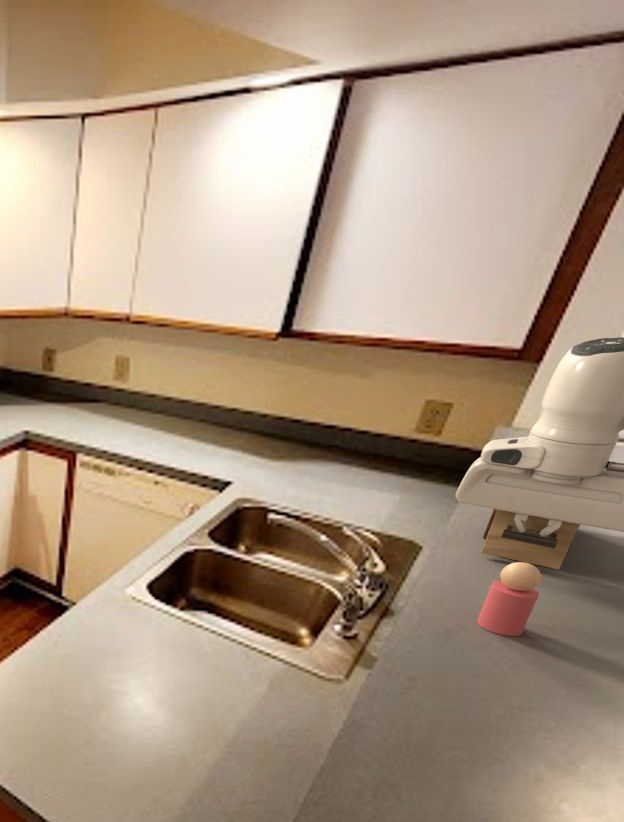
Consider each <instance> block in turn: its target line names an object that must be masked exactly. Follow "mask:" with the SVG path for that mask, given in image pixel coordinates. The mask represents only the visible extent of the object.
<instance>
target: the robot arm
mask: <svg viewBox="0 0 624 822" xmlns="http://www.w3.org/2000/svg"><path fill="white" fill-rule="evenodd" d="M540 408H541V409H540V410H541V411H540V415H539V418H538V419H537V421H536V422H535V423H534V424H533V426H532V427H531V428H530V431H529V434H528V436H520V437H510V438H509V437H508V438H499V439H493V440H492V439H491V440H490V441H489V442H487V443H486V444H485V445H484V447H483V448H482V450H481V453H480V456H479V457H478V458H477V459H476V460H474V462H473V463H472V464H471V465H470V466H469V468H468V469H467V471H466V472H465V475H464V476H463V478H462V480H461V482H460V484H459V486H458V488H457V490H456V492H455V495H454V496H455V498H456V500H457V501H458V503H460V504H464V505H465V504H466V505H469V506H475V507H481V508H487V509H491V510H494V509H497V510H503V511H509V512H514V513H516V515H515V518H514V520H515V523H516V525H517V528H518V530H519V532H523V533H528V534H533V535H538V536H543V537H545V536H547V535H549V534H551V533H552V532H554V531H555V530H557V529H559V528H560V526H561V524H562V522H563V521H565V522H570V523H576V524H580V525H583V526H587V527H594V528H600V529H604V530H605V529H606V530H611V531H617V532H622V533H624V463H623V462H616V461H610V459H611V457H612V454H613V453H614V450H615V448H616V445H617V443H618V441H619V437H620V432H622V431H624V337H622V336H621V337H619V336H618V337H603V338H596V339H595V338H594V339H591V340H586V341H584V342H581V343H578V344H575V345H573V346H572V347H570V348H569V350H568V351H567V352H566V353H565V354H564V356H563V357H562V358H561V360H560V361H559V363H558V364H557V366H556V368H555V370H554V372H553V374H552V375H551V378H550V380H549V382H548V384H547V387H546V389H545V392H544V394H543V396H542V400H541V403H540ZM529 515H531V516H537V517H542V518H548V519H549V521H548V526H547V527H545V528H544V529H542V530H541V531H538V530H533V529H528V528H526V525H525V522H524V521H526V520H527V518H528V516H529Z"/></svg>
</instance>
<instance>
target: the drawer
mask: <svg viewBox="0 0 624 822" xmlns="http://www.w3.org/2000/svg"><path fill="white" fill-rule="evenodd" d="M515 515H516V513H514V512H509V511H503V510H497V513H496V515H495V518H494V520H493V523H492V525H491V528H490V531H489V533H488V536H487V538H485V541H484V543H483V546H482V548H481V552H480V553H481V554H486V555H490V556H496V557H500V558H504V559H508V560H514V561H518V562H524V563H529V564H531V565H536V566H541V567H545V568H550V569H555V570H560V569H561V566H562V564H563V562H564V560H565V558H566V556H567V555H566V553H567V554H568V552H569V550H570V548H571V546H570V545H572V544H571V542H572V543H573V541H574V539H575V537H576V535H577V533H576V531H577V532H578V530H579V528H580V526H581V524H576V523H570V522H565V521H563V522H562V524H561V526H560V528H559V529H557V530H555V531H554V532H552V533H551V534H549V535H547V536H545V537H543V536H538V535H533V534H528V533H523V532H519V530H518V528H517V525H516V523H515V520H514V518H515ZM548 521H549V519H548V518H542V517H537V516H531V515H529V516H528V518H527V520H526V521H524V522H525V525H526V528H528V529H533V530H538V531H541V530H542V529H544V528H545V527H547V526H548ZM579 525H580V526H579ZM578 527H579V528H578ZM577 529H578V530H577ZM575 534H576V535H575ZM574 536H575V537H574ZM573 538H574V539H573ZM572 540H573V541H572ZM569 547H570V548H569ZM568 549H569V550H568ZM567 551H568V552H567Z"/></svg>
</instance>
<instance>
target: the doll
mask: <svg viewBox="0 0 624 822" xmlns="http://www.w3.org/2000/svg"><path fill="white" fill-rule="evenodd" d="M499 577H500V580H495V581H493V582H491V585H490V588H489V590H488V593H487V595H486V598H485V600H484V602H483V606H482V607H481V609H480V612H479V615H478V617H477V620H476V622H477V624H478V626H479V627H481V628H482V629H485V630H486V631H488V632H491V633H493V634H497V635H501V636H505V637H506V636H507V637H518V636H521V635H522V634H523V632H524V630H525V627H526V626H527V623H528V621H529V618H530V617H531V615H532V612H533V609H534V607H535V605H536V603H537V601H538V599H539V596H540V592H539V591H538V589H536V587H538V586H539V585H540V583H541V580H542V574H541V572H540V569H538V568H537V567H536V566H535V565H534V564H531V563H527V562H522V561H518V562H511V563H509V564H507V565H505V566H504V567H503V569H502V570H501V571H500V574H499Z"/></svg>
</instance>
